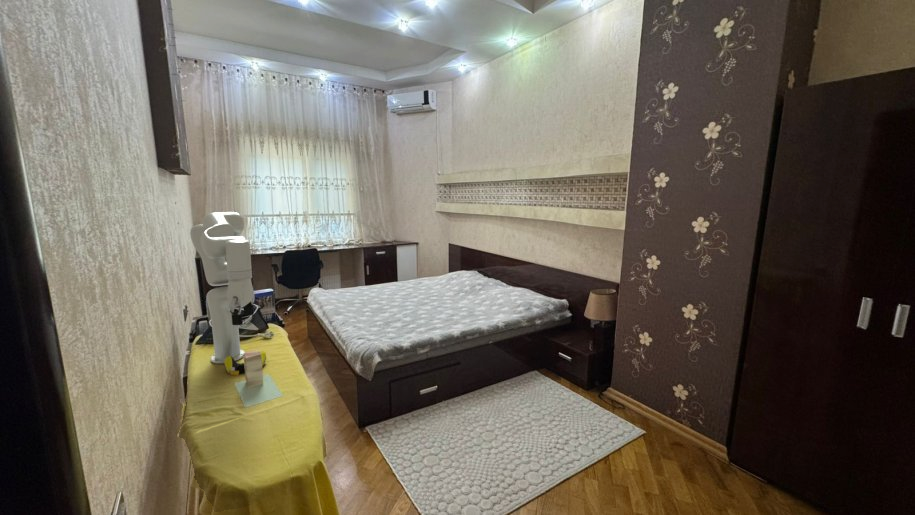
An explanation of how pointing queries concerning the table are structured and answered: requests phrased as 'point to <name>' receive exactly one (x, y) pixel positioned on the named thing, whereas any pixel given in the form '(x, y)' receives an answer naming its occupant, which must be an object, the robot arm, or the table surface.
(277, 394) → the sage mat
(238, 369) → the gaming controller
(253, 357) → the birch pillar
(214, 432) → the table surface
